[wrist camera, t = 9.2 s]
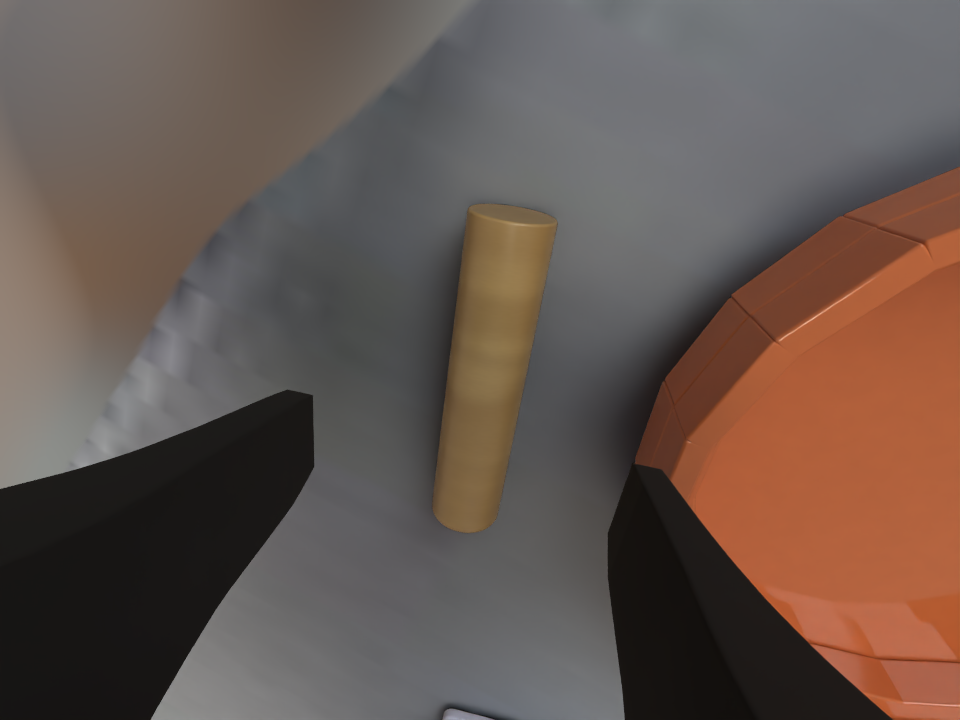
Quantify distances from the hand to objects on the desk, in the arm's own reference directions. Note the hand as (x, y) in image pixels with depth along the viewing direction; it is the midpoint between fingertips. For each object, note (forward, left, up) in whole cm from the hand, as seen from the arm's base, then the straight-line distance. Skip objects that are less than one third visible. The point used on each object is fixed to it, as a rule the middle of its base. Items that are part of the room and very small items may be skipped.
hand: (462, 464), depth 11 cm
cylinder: (0, 0, -5) cm, 5 cm away
